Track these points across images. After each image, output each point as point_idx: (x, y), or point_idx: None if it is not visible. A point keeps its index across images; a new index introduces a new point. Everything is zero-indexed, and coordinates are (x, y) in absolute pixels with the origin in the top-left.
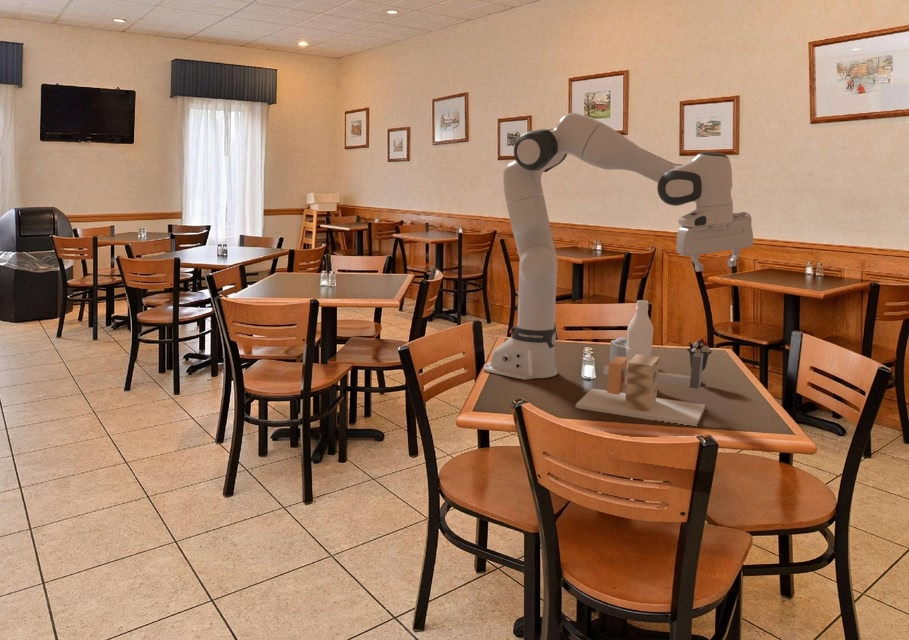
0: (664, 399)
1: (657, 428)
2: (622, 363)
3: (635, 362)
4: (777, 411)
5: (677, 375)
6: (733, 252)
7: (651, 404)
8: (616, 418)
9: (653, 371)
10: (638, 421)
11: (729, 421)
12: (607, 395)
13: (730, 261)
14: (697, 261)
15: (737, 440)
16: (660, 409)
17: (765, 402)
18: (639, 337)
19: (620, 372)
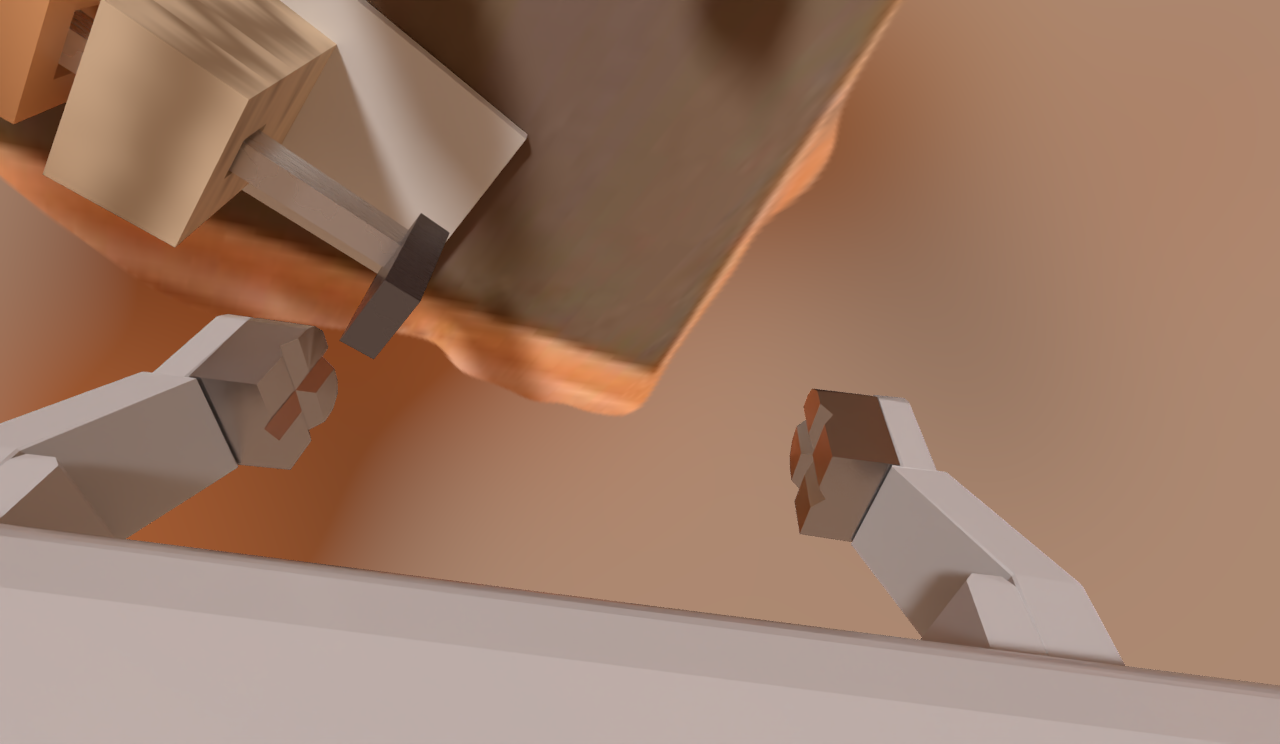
0: (383, 31)
1: (279, 270)
2: (26, 89)
3: (86, 179)
4: (763, 216)
5: (336, 220)
6: (933, 623)
7: (283, 134)
8: None
9: (210, 199)
10: (226, 204)
11: (540, 263)
12: None
13: (801, 498)
14: (136, 515)
15: (479, 377)
16: (324, 150)
17: (808, 120)
18: None
19: (47, 105)
